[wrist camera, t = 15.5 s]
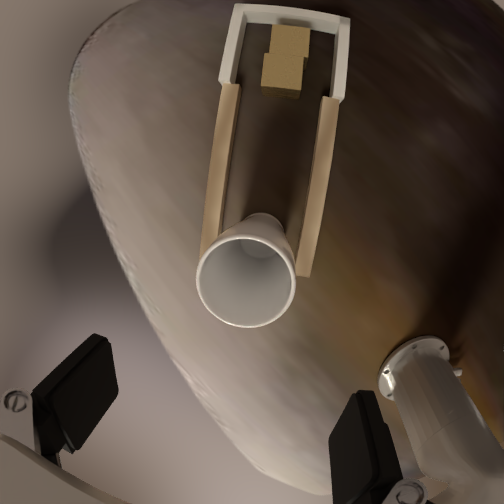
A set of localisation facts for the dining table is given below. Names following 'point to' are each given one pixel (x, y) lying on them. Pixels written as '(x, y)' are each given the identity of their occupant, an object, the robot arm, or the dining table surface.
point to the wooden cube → (282, 76)
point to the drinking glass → (248, 273)
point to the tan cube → (290, 41)
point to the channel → (316, 181)
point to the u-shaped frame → (290, 18)
